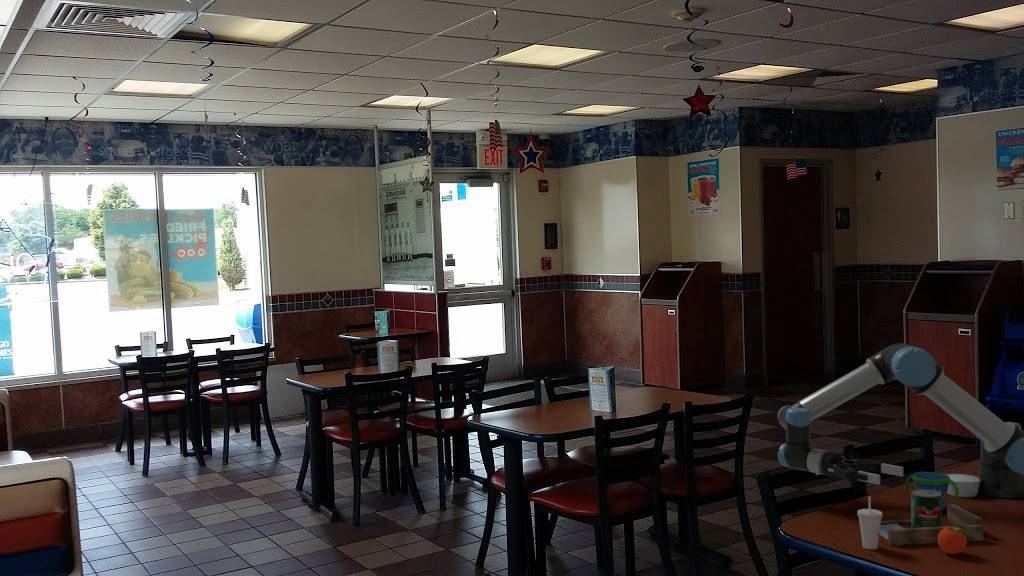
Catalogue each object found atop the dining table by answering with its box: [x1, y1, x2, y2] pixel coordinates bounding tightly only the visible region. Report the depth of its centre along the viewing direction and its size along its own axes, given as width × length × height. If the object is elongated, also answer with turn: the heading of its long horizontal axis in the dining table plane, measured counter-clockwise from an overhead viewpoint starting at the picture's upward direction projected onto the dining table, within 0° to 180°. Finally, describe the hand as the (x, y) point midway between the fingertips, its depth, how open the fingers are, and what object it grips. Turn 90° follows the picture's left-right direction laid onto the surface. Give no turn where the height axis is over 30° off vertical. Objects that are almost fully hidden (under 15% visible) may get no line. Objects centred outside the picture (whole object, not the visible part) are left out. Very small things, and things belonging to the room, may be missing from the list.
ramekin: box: [946, 473, 980, 498], centre depth 292 cm, size 11×11×5 cm
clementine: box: [937, 527, 968, 555], centre depth 236 cm, size 8×7×7 cm
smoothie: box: [857, 496, 884, 550], centre depth 243 cm, size 6×6×14 cm
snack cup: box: [903, 471, 960, 511], centre depth 277 cm, size 16×10×10 cm
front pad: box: [879, 524, 904, 541], centre depth 254 cm, size 9×14×1 cm, turn 5°
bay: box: [858, 503, 984, 546], centre depth 254 cm, size 28×18×5 cm, turn 95°
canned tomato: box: [910, 488, 942, 528], centre depth 256 cm, size 8×8×11 cm
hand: (891, 475), depth 263 cm, fingers open, 13 cm apart
